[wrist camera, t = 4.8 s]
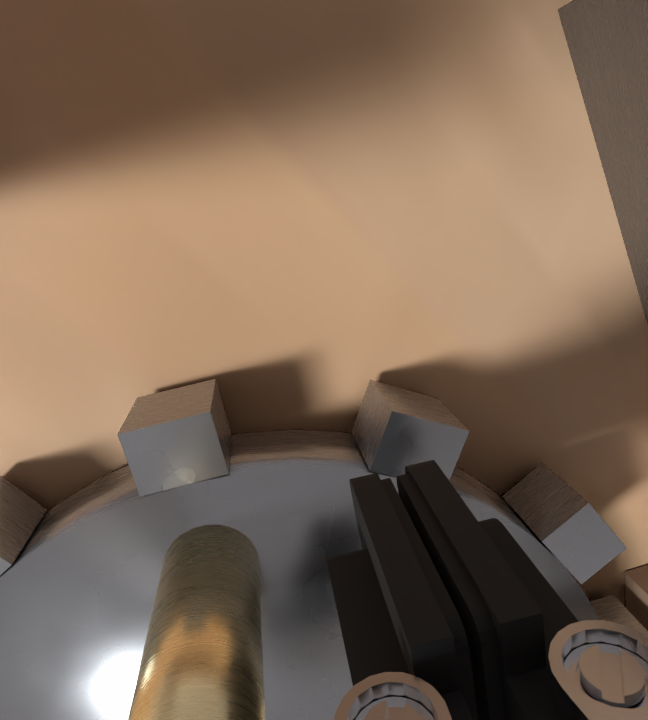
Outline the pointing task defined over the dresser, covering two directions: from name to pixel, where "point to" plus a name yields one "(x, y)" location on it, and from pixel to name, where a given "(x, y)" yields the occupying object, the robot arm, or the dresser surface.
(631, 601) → the taupe wooden cube
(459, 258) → the dresser surface
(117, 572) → the sprocket
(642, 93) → the grey rectangular block
